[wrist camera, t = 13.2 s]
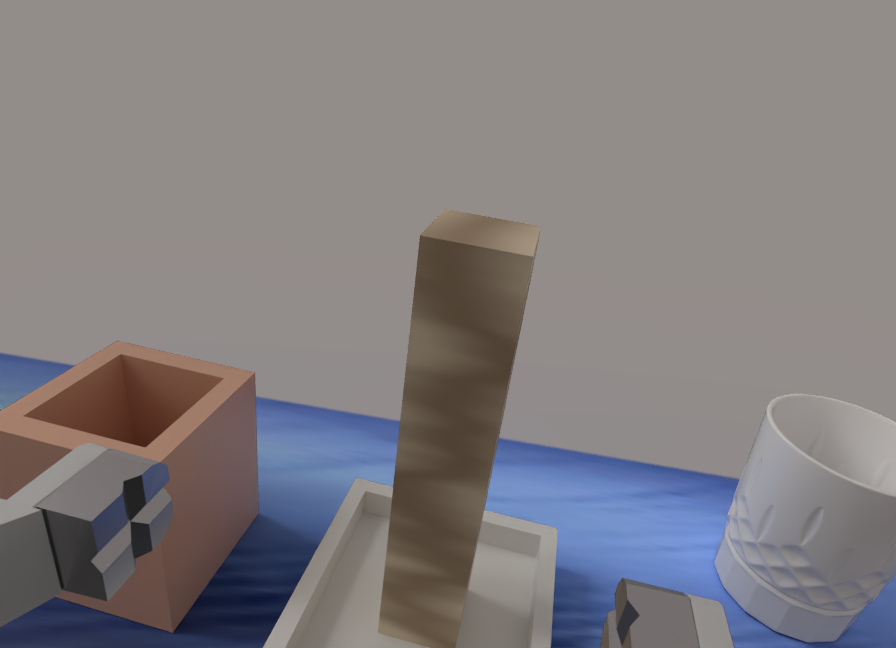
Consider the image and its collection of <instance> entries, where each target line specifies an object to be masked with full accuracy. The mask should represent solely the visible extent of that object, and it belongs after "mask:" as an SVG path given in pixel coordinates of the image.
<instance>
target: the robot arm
mask: <svg viewBox="0 0 896 648" xmlns="http://www.w3.org/2000/svg"><path fill="white" fill-rule="evenodd" d="M169 481H170V477H169V471H168V466H167V465H165V464H163V463H161V462H159V461H155V460H151V459H148V458H144V457H141V456H137V455H134V454H130V453H127V452H123V451H120V450H116V449H111V448H107V447H104V446H100V445H96V444H93V443H87V444H83V445H79V446H78V447H76V448H75V449H74V450H72V451H71V452H70V453H68V454H67V455H66V456H65V457H63V458H62V459H61V460H59V461H58V462H57V463H55V464H54V465H53V466H51V467H50V468H49V469H47V470H46V471H45V472H43V473H42V474H41V475H39V476H38V477H37V478H35V479H34V480H33V481H31V482H30V483H29V484H27V485H26V486H25V487H23V488H22V489H21V490H19V491H18V492H17V493H15V494H14V495H13V496H11V497H10V498H9V499H7V500H5V499H1V498H0V627H2V626H3V625H5V624H7V623H9V622H11V621H12V620H14V619H16V618H18V617H20V616H21V615H23V614H25V613H27V612H28V611H30V610H32V609H34V608H36V607H37V606H39V605H41V604H43V603H45V602H46V601H48V600H50V599H52V598H54V597H55V596H57V595H59V594H61V593H62V590H65V591H68V592H72V593H76V594H80V595H84V596H88V597H92V598H96V599H99V600H103V601H107V602H108V601H109V600H110V598H111V597H112V596H113V595H114V594H115V593H116V592H117V591H118V589H119V588H120V587H121V586H122V585H123V584H124V583H125V582H126V580H127V579H128V578H129V577H130V576H131V575H132V574H133V573H134V571H135V567H136V558H138V557H140V556H142V555H144V554H147V553H149V552H151V551H153V550H154V549H155V547H156V546H157V545H158V544H159V543H160V541H161V540H162V539H163V538H164V536H165V534H166V532H167V530H168V528H169V526H170V523H171V520H172V514H173V501H172V498H171V497H170V495H169V494H168V493H167V491H166V490H165V489H164V486H165V485H166V484H167V483H168V482H169ZM600 648H734V645H733V641H732V637H731V633H730V630H729V626H728V622H727V618H726V615H725V611H724V608H723V606H722V605H721V604H720V602H719V601H715V600H711V599H707V598H703V597H699V596H694V595H690V594H684V593H682V592H678V591H674V590H670V589H666V588H662V587H657V586H653V585H649V584H645V583H641V582H637V581H633V580H628V579H624V578H622V579H621V581H620V582H619V584H618V586H617V589H616V592H615V609H614V610H612V611H611V612H609V613H608V615H607V618H606V621H605V624H604V627H603V633H602V639H601V645H600Z"/></svg>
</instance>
